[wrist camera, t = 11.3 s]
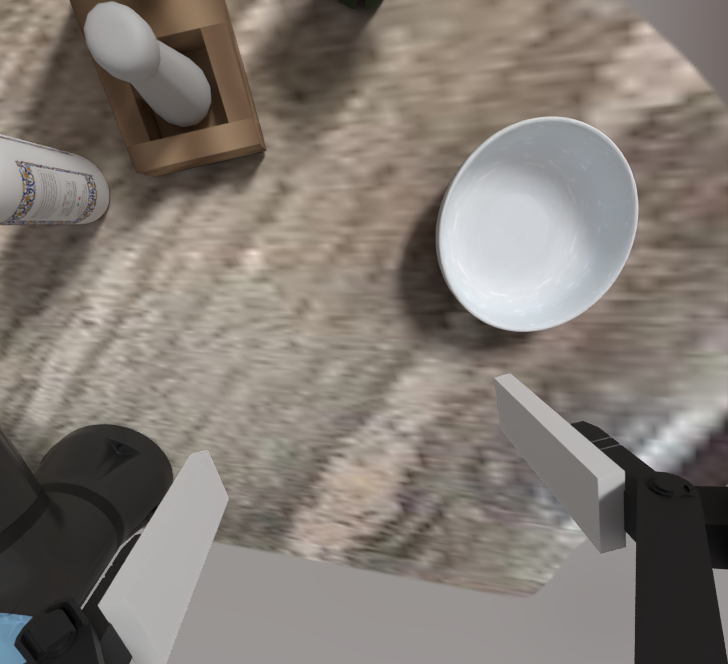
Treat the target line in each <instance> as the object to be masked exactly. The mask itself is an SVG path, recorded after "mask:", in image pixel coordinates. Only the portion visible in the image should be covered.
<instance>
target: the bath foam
mask: <svg viewBox="0 0 728 664" xmlns="http://www.w3.org/2000/svg"><path fill="white" fill-rule="evenodd" d="M108 204H109V188H108V185H107V182H106V180H105V178H104V176H103V174H102V173H101V172H100V170H99V169H98V168H97V167H96V166H95V165H94V164H93V163H91V162H90V161H89V160H87V159H85V158H84V157H82V156H79V155H77V154H74V153H70V152H66V151H63V150H59V149H56V148H52V147H48V146H44V145H40V144H37V143H33V142H29V141H25V140H22V139H18V138H14V137H10V136H6V135H3V134H0V225H70V224H87V223H91V222H93V221H95V220H97V219H98V218H100V217H101V216H102V215H103V214H104V213H105V211H106V209H107V207H108Z"/></svg>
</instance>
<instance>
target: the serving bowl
mask: <svg viewBox="0 0 728 664" xmlns="http://www.w3.org/2000/svg"><path fill="white" fill-rule="evenodd" d="M637 221H638V197H637V189H636V184H635V181H634V178H633V174H632V171H631V169H630V167H629V164H628V163H627V161H626V159H625V157H624V156H623V154H622V153H621V151H620V150H619V149H618V147H617V146H616V145H615V144H614V143H613V142H612V141H611V140H610V139H609V138H608V137H607V136H606V135H605V134H603V133H602V132H600V131H599V130H597V129H596V128H594V127H592V126H590V125H588V124H586V123H584V122H581V121H578V120H575V119H570V118H564V117H539V118H532V119H528V120H524V121H521V122H518V123H515V124H513V125H510V126H508V127H506V128H504V129H502V130H500V131H499V132H497V133H495V134H494V135H492V136H491V137H490V138H488V139H487V140H486V141H484V142H483V143H482V144H481V145H480V146H479V147H478V148H477V149H475V150H474V152H473V153H472V154H471V155H470V156H469V157H468V158H467V159H466V160H465V161H464V163H463V164H462V165H461V166H460V168H459V169H458V171H457V172H456V173H455V175H454V177H453V179H452V180H451V182H450V184H449V186H448V188H447V190H446V192H445V194H444V197H443V200H442V202H441V206H440V209H439V213H438V218H437V224H436V253H437V258H438V263H439V266H440V270H441V273H442V275H443V278H444V280H445V282H446V284H447V286H448V287H449V289H450V291H451V292H452V294H453V295H454V297H455V298H456V299H457V300H458V302H459V303H460V304H461V305H462V306H463V307H464V308H465V309H466V310H467V311H468V312H469V313H470V314H472V315H473V316H474V317H476V318H477V319H479V320H480V321H482V322H484V323H486V324H488V325H490V326H493V327H495V328H499V329H503V330H507V331H514V332H532V331H540V330H544V329H549V328H552V327H555V326H558V325H560V324H563V323H565V322H567V321H569V320H571V319H573V318H575V317H577V316H578V315H580V314H581V313H583V312H584V311H586V310H587V309H588V308H590V307H591V306H592V305H593V304H595V303H596V302H597V301H598V300H599V299H600V298H601V297H602V296H603V295H604V294H605V293H606V291H607V290H608V289H609V288H610V287H611V285H612V284H613V283H614V281H615V280H616V278H617V277H618V275H619V274H620V272H621V270H622V268H623V266H624V265H625V263H626V260H627V258H628V256H629V253H630V251H631V248H632V245H633V241H634V237H635V233H636V228H637Z"/></svg>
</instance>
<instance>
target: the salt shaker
mask: <svg viewBox="0 0 728 664" xmlns="http://www.w3.org/2000/svg"><path fill="white" fill-rule="evenodd" d="M84 33H85V39H86V45H87V47H88V49H89V50H90V52H91V54H92V56H93V58H94V59H95V61H96V62H97V63H98V64H99V65H100V66H101V67H102V68H104V69H105V70H106V71H107V72H109V73H110V74H111V75H112V76H114V77H116V78H117V79H120V80H123V81H126V82H129V83H131V84H132V85H133V86H134V88H135V89H136V90H137V91H138V92H139V94H140V95H141V96H142V97H143V98H144V100H145V101H146V102H147V103H148V104H149V106H150V107H151V108H152V109H153V110H154V112H155V113H157V114H158V115H159V116H160V117H162V118H163V119H164V120H165V121H167V122H168V123H171V124H174V125H178V126H181V127H187V126H192V125H197V124H198V123H199V122H201V121H202V120H203V119H204V118H205V117H206V116H207V114H208V112H209V109H210V106H211V104H212V99H211V87H210V85H209V83H208V81H207V79H206V77H205V75H204V73H203V71H202V70H201V69H200V68H199V67H198V66H197V65H196V64H195V63H194V62H193V61H191V60H190V59H189V58H187V57H186V56H184V55H182V54H181V53H179V52H177V51H176V50H174V49H172V48H171V47H169V46H167V45H165V44H164V43H162V42H160V41H159V40H157V39H156V37H155V35H154V33H153V31H152V29H151V27H150V26H149V25H148V24H147V22H146V21H145V20H144V19H142V18H141V17H140V16H139V15H138V14H137V13H136V12H135V11H134V10H132V9H131V8H129V7H128V6H125V5H122V4H119V3H116V2H113V1H111V2H105V3H99V4H97V5H96V6H95V7H94V8H93V9H92V10H91V11H90V12H89V13H88V15H87V18H86V22H85V25H84Z"/></svg>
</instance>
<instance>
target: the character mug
mask: <svg viewBox="0 0 728 664" xmlns="http://www.w3.org/2000/svg"><path fill="white" fill-rule="evenodd" d="M340 1H341V2H343V3H344V4H346V5H347V6H349V7H350V8H352V9H356V3H357V0H340ZM380 2H381V0H365V9H370V8H371V7H373V6H375V5H376V4H378V3H380Z"/></svg>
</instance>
